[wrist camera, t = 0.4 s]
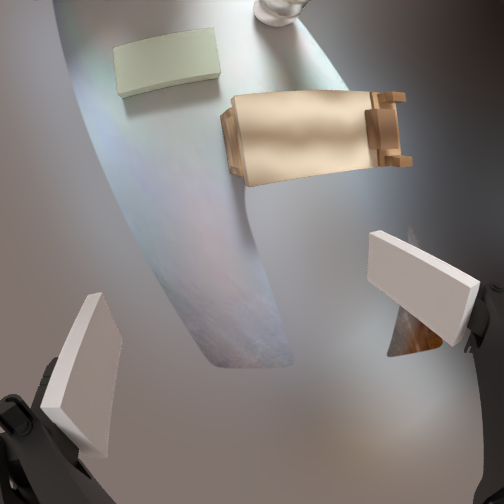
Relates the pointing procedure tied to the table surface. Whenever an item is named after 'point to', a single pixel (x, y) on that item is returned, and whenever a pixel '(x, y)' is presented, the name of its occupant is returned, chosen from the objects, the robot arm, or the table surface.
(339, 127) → the lid
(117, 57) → the block
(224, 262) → the table surface
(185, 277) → the table surface
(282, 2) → the plastic bottle
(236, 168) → the toolbox
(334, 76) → the table surface
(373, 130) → the block
